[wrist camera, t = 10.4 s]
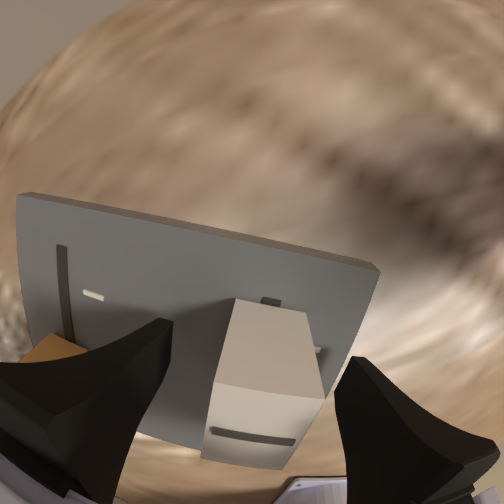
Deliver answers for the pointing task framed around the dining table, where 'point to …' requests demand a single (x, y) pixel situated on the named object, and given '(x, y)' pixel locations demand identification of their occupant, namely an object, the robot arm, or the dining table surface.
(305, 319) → the grey fader
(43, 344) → the orange fader
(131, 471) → the dining table surface
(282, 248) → the console
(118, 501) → the house plant
